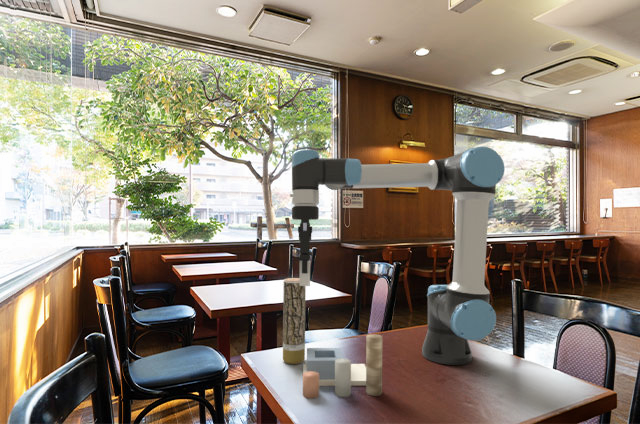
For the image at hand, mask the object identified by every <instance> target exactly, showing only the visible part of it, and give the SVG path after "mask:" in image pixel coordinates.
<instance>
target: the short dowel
mask: <svg viewBox="0 0 640 424" xmlns="http://www.w3.org/2000/svg"><path fill="white" fill-rule="evenodd" d="M302 396H303V397H304V398H305V399H316V398H318V397H319V396H320V386H319V373H317V372H314V371H308V372H305V373H304V374H303V373H302Z"/></svg>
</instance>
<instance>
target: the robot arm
mask: <svg viewBox="0 0 640 424" xmlns="http://www.w3.org/2000/svg"><path fill="white" fill-rule="evenodd" d="M505 168H506V167H505V163H504V160H503V159H502V157H501V155H500V154H498V152H497V151H496V150H494V149H493V148H491V147H489V146H477V147H471V148H470V147H469V148H468V149H467V150H465V151H461V152H460V153H457V154H455V155H452V156H450V157H446V158H442V159H431V160H429V161H428V162H424V163H382V164H381V163H379V164H378V163H377V164H362V162H361V160H360V159H358V158H350V157H348V158H327V157H326V158H323V157H320V153H319V152H318V150H314V149H298V150H295V151H294V152H293V153H292V161H291V192H292V193H290V194H289V198H292V199H291V203H292V205H294V206H292V207H291V219H292V220H296V221H298V220H300V223H299V225H298V226H297V233H298V240H299V256H298V257H296V261H297V262H299V278H300V280H299V286H306V287H310V286H311V256H312V257H313V252H312V251H311V250H310V242H311V241H312V233H313V226H311V223H310V221H314V220H316V221H317V220H319V217H320V215H319V213H320V209H319V208H320V207H318V206H317V205H319V204H320V190H319V189H320V188H319V187H320V186H325V187H326V188H327V189H330V190H333V191H337V190H342V189H343V190H344V189H348V190H349V189H376V188H377V189H378V188H380V189H382V188H385V189H386V188H422V187H423V188H425V187H426V188H429V190H431V191H432V190H434V191H436V190H437V191H438V190H439V191H440V190H441V191H451V193H452V194H451V195H452V196H453V197H454V198H455V199H456V213H455V214H456V215H455V229H454V230H455V231H454V247H453V250H454V251H453V265H452V267H453V269H452V281H451V282H450V283H449V284H432V285H430V286H428V288H427V294H426V297H427V332H426V335H425V338H424V341H423V342H422V343H423V344H422V347H421V351H422V352H421V355H422V356H423V357H424V358H425V359H426V360H428V361H430V362H433V363H438V364H443V365H449V366H461V365H467V364H470V363H471V362H473V361H472V359H473V356H472V355H473V354H472V350H471V347H470V343H469V341H471V342H472V341H473V342H475V341H481V340H483V339H486V337H488V336H489V335H491V333H492V332H493V331H494V329H495V327H496V323H497V314H496V311H495V309H494V308H493V306H492V305H491V304H490V295H491V294H490V290H489V289H488V288H487V287H486V285H485V279H486V278H485V277H486V274H485V273H486V261H487V260H486V259H487V258H486V257H487V244H488V243H487V242H488V241H487V240H488V227H489V226H488V223H489V207H490V201H491V200H492V199H494V198H495V197H496V189H497V187H496V186H497V184H498V183H500V182H501V181H502V179H503V177H504V175H505Z"/></svg>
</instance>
